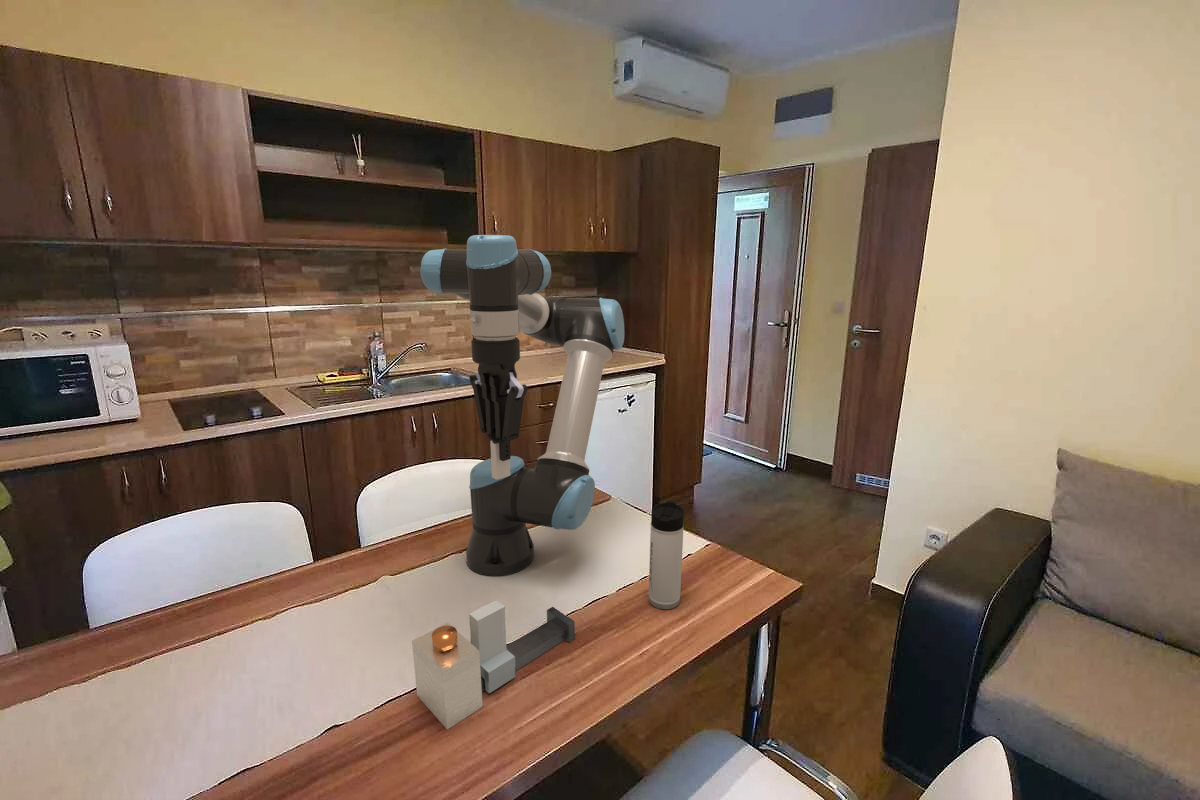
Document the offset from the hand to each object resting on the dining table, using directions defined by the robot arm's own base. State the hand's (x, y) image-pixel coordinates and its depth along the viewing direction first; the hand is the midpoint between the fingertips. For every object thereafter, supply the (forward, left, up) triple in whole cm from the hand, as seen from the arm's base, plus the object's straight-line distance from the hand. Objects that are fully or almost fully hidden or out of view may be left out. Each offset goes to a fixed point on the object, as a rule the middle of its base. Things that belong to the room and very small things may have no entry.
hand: (501, 476), depth 93 cm
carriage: (+7, -8, -30) cm, 32 cm away
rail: (+7, -6, -30) cm, 32 cm away
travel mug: (+14, +28, -31) cm, 44 cm away
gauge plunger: (+7, -16, -27) cm, 32 cm away
